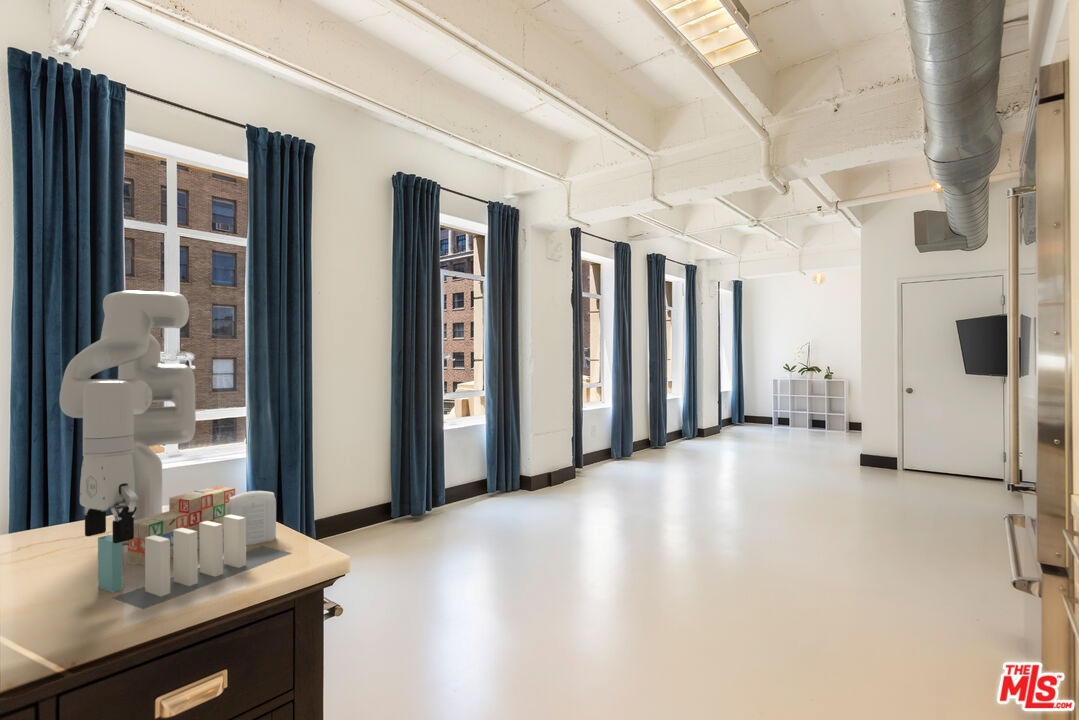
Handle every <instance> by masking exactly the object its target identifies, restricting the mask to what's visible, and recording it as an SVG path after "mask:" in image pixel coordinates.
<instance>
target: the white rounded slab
mask: <svg viewBox="0 0 1079 720" xmlns="http://www.w3.org/2000/svg"><path fill="white" fill-rule="evenodd" d="M230 514H231V515H236V516H241V517H246V546H249V545H250V546H251V545H255V544H260V543H267V542H272V541H275V540H276V538H277V537H276V536H277V500H276V497H275V493H274V492H273V491H267V490H266V491H265V490H251V491H245V492H242V493H238V494H235V496H233V497H230V500H229V503H228V506H227V515H230Z"/></svg>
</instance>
